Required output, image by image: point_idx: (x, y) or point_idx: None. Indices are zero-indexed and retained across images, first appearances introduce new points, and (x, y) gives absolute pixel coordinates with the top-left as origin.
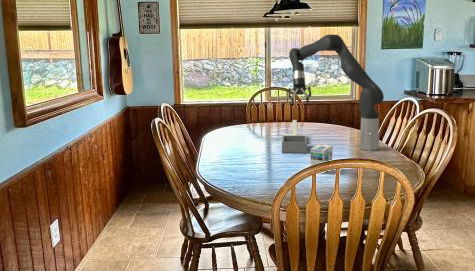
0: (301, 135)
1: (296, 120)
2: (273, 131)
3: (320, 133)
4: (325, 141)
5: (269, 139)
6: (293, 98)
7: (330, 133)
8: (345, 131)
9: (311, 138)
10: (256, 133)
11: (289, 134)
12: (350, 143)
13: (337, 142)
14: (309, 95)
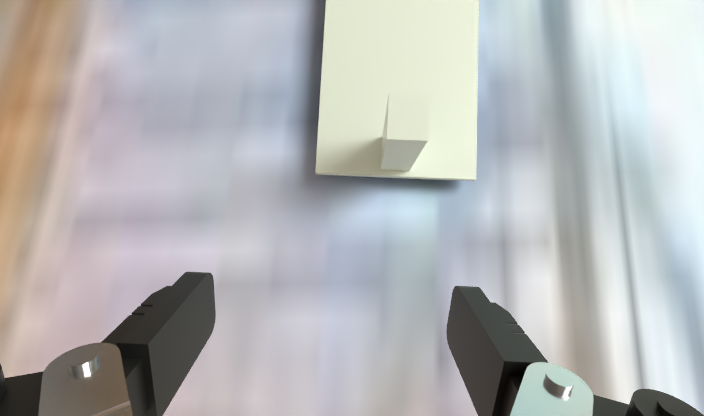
0: (348, 133)
1: (391, 111)
2: None
3: None
4: (211, 69)
5: (557, 110)
6: (502, 350)
7: None
8: None
9: (285, 151)
10: (672, 314)
11: (430, 165)
12: (82, 25)
13: (148, 46)
14: (7, 393)
